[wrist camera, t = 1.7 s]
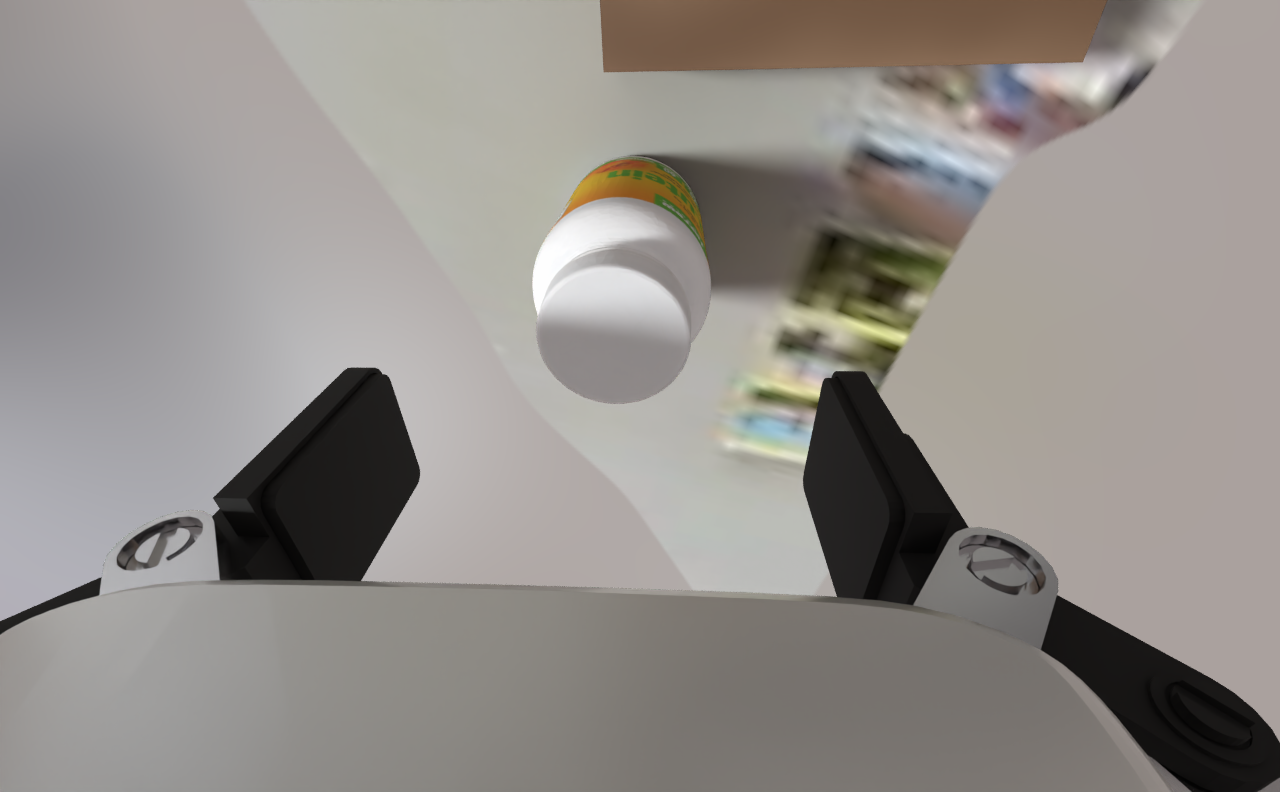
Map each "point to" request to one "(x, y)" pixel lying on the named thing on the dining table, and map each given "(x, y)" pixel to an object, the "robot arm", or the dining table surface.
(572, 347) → the supplement bottle
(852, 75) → the dining table surface
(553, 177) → the dining table surface
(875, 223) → the dining table surface
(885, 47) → the socket block
